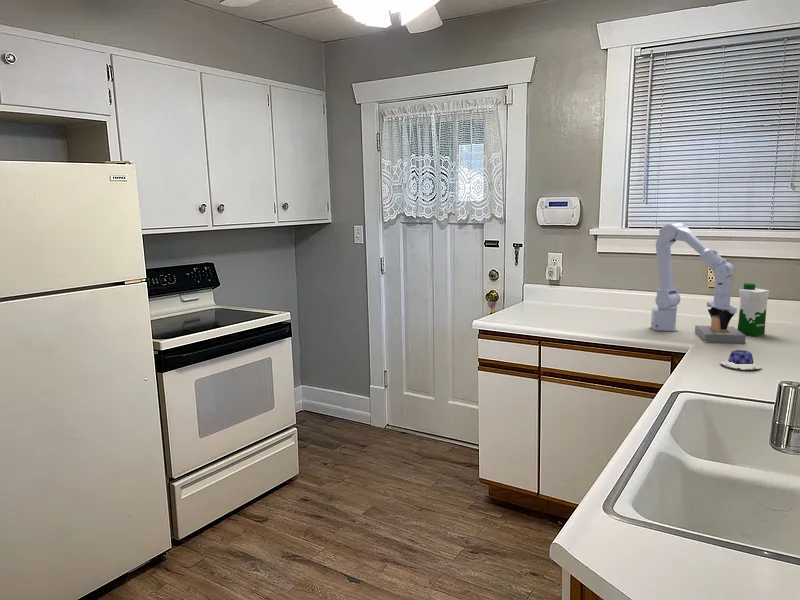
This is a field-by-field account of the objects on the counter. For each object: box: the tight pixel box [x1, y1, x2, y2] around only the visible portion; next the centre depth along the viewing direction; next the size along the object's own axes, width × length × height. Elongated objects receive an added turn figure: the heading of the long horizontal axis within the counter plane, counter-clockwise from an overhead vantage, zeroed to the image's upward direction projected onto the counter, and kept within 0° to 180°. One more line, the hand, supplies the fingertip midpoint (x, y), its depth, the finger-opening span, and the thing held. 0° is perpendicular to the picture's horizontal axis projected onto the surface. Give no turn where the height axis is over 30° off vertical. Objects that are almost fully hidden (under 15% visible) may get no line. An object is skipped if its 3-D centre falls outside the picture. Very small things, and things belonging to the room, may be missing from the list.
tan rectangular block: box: [710, 315, 727, 332], centre depth 237 cm, size 4×4×7 cm
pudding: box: [727, 349, 755, 364], centre depth 200 cm, size 12×12×5 cm
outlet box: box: [694, 325, 747, 344], centre depth 238 cm, size 14×16×3 cm
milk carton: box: [736, 282, 770, 337], centre depth 242 cm, size 9×9×20 cm
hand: (719, 328), depth 238 cm, fingers closed on tan rectangular block, 4 cm apart
